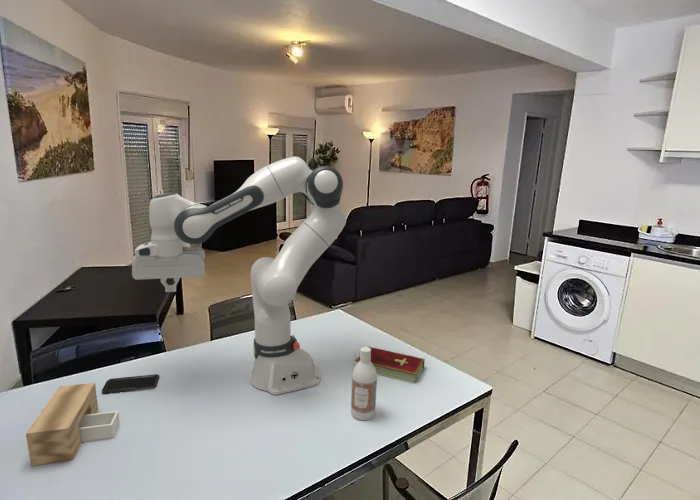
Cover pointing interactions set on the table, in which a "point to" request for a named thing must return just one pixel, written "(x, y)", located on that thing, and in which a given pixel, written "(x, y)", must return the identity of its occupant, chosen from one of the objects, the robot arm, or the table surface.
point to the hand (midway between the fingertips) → (171, 291)
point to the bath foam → (364, 387)
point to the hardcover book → (396, 364)
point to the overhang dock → (61, 424)
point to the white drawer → (98, 426)
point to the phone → (130, 384)
